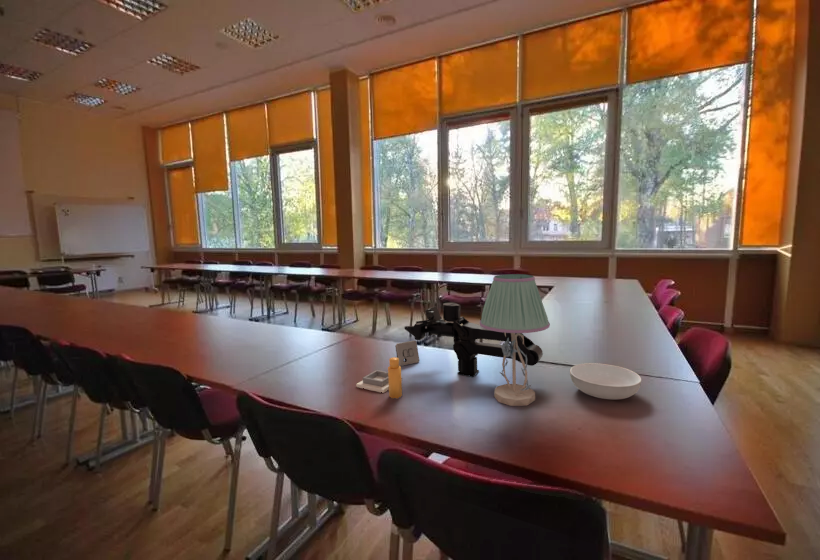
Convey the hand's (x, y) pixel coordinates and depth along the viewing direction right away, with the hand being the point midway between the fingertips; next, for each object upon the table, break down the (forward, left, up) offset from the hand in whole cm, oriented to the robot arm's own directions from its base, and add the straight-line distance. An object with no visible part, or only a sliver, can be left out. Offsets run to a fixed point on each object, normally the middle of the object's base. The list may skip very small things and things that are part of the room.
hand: (410, 325), depth 162 cm
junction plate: (0, +24, -16) cm, 29 cm away
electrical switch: (+3, 0, -17) cm, 17 cm away
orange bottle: (-11, +30, -17) cm, 36 cm away
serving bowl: (-72, -2, -17) cm, 74 cm away
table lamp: (-47, +14, -17) cm, 52 cm away
